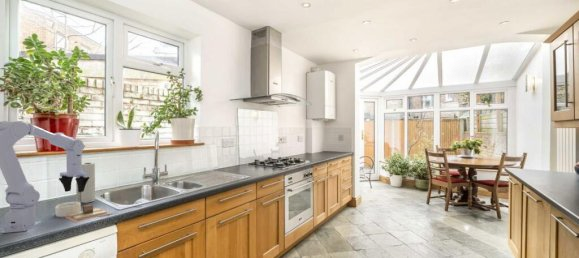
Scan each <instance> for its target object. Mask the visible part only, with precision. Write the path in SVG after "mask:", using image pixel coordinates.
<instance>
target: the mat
mask: <svg viewBox="0 0 579 258" xmlns="http://www.w3.org/2000/svg"><path fill="white" fill-rule="evenodd" d="M97 208H98V209H101V210H104V211H106V212H107V213H106V214H102V215H98V216H94V217H90V218H87V219H83V220H79V221H78V220H76V219H74V218H72V217H70V216H63V218H66V219H68V220H69V221H72V222H73V223H78V222H83V221H86V220H91V219H94V218H98V217H103V216H105V215H109V214H111V212H110V211H108V210H105V209H103V208H99V207H97Z"/></svg>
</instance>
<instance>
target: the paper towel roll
mask: <svg viewBox="0 0 579 258" xmlns="http://www.w3.org/2000/svg"><path fill="white" fill-rule="evenodd" d="M95 171H96V164H95V162H84V163H82V172H85V173H89V180H88V181H87V183H86V185H85V188H84V191H83V192H78V185H77V182H76V184H75V186H76V187H75V188H76V189H75V190H76V192H75V193H76V194H75V195H76V202H80V203H81V204H84V203H85V204H89V203H93V202H96V172H95ZM75 178H80V177H75Z"/></svg>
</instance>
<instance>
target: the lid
mask: <svg viewBox="0 0 579 258" xmlns="http://www.w3.org/2000/svg"><path fill="white" fill-rule="evenodd" d="M98 208H99V207H94V205H93V204H90V203H88V204H85V205H82V211H80V212H76V213H72V214H69V216H70V217H72V218H74V219H76V220H78V221H79V220H83V219H87V218H90V217H94V216H98V215H102V214H106V213H107V212H106V211H107V210H105V209H102V208H100V209H98ZM101 209H102V210H101ZM104 210H105V211H104ZM106 215H107V214H106ZM102 216H103V215H102ZM87 220H88V219H87ZM83 221H84V220H83ZM79 222H80V221H79Z"/></svg>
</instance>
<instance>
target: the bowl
mask: <svg viewBox="0 0 579 258" xmlns="http://www.w3.org/2000/svg"><path fill="white" fill-rule="evenodd" d="M81 205H82V202H77V201H69V202H63V203H59V204H57V205H55V210H54V211H55V214H54V215H55V217H60V218H61V217H63V216H69V214H72V213H76V212H80V211H81V210H82V206H81ZM63 218H64V217H63Z"/></svg>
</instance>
